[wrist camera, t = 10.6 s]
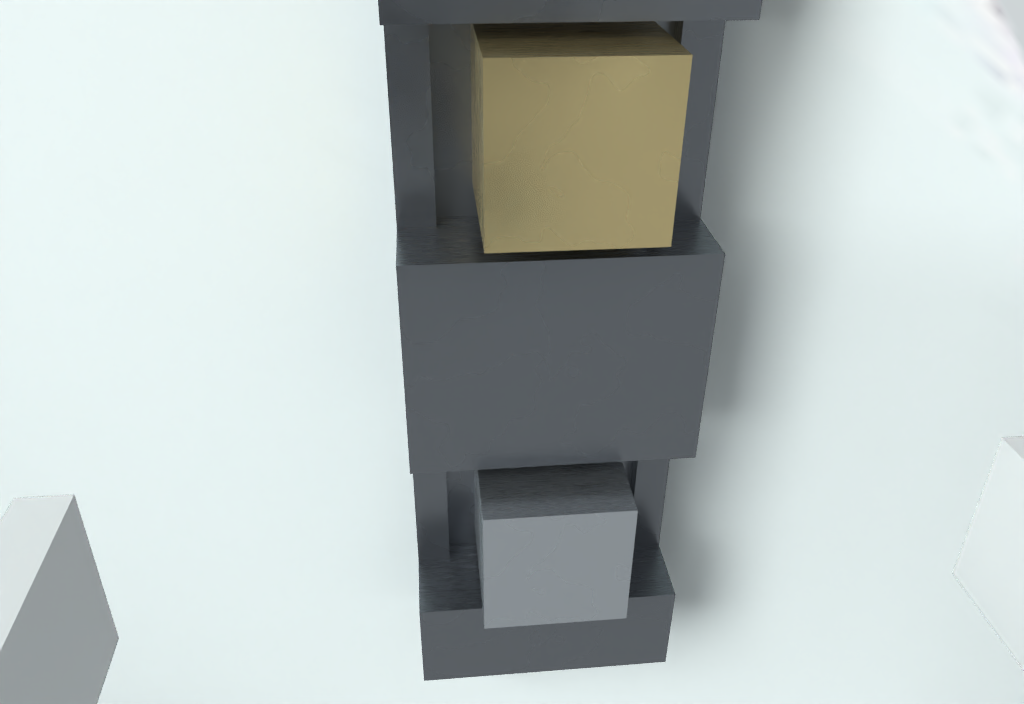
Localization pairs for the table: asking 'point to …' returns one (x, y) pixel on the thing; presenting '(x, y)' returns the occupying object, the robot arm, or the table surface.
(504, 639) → the grey stepped block holder
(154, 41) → the table surface
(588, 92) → the sand colored cube
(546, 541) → the brushed aluminum cube
